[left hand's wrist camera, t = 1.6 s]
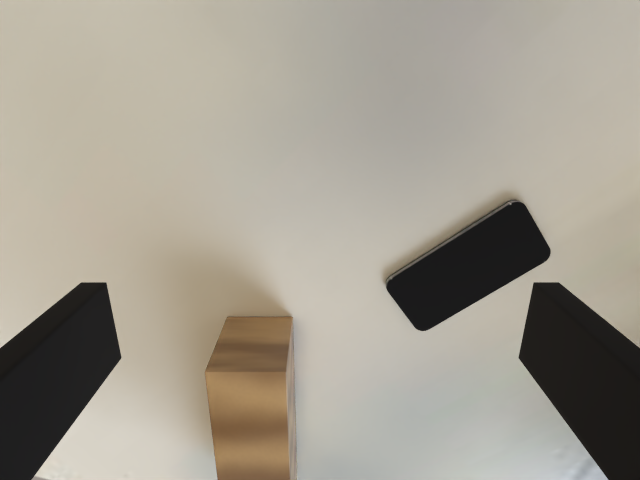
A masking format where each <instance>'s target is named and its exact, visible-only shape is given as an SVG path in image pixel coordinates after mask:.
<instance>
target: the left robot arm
mask: <svg viewBox="0 0 640 480" xmlns="http://www.w3.org/2000/svg"><path fill="white" fill-rule="evenodd" d="M120 359H121V354H120V349H119V344H118V339H117V334H116V329H115V324H114V319H113V314H112V309H111V304H110V299H109V294H108V289H107V284H106V283H80V284H79V285H78V286H76V287H75V288H74V289H73V290H72V291H70V292H69V293H68V294H67V295H65V296H64V297H63V298H62V299H60V300H59V301H58V302H57V303H55V304H54V305H53V306H52V307H51V308H49V309H48V310H47V311H46V312H44V313H43V314H42V315H41V316H39V317H38V318H37V319H36V320H35V321H33V322H32V323H31V324H30V325H28V326H27V327H26V328H25V329H23V330H22V331H21V332H20V333H19V334H17V335H16V336H15V337H14V338H12V339H11V340H10V341H9V342H7V343H6V344H5V345H4V346H2V347H1V348H0V480H31V479H32V478H33V477H34V475H35V474H36V473H37V471H38V470H39V469H40V467H41V466H42V465H43V463H44V462H45V461H46V459H47V458H48V456H49V455H50V454H51V452H52V451H53V450H54V448H55V447H56V446H57V444H58V443H59V442H60V440H61V439H62V438H63V436H64V435H65V433H66V432H67V431H68V429H69V428H70V427H71V425H72V424H73V423H74V421H75V420H76V419H77V417H78V416H79V415H80V413H81V412H82V410H83V409H84V408H85V406H86V405H87V404H88V402H89V401H90V400H91V398H92V397H93V396H94V394H95V393H96V392H97V390H98V389H99V387H100V386H101V385H102V383H103V382H104V381H105V379H106V378H107V377H108V375H109V374H110V373H111V371H112V370H113V368H114V367H115V366H116V364H117V363H118V362H119V360H120ZM519 359H520V360H521V362H522V363H523V364H524V366H525V367H526V368H527V370H528V371H529V373H530V374H531V375H532V377H533V378H534V379H535V381H536V382H537V383H538V385H539V386H540V387H541V389H542V390H543V392H544V393H545V394H546V396H547V397H548V398H549V400H550V401H551V402H552V404H553V405H554V406H555V408H556V409H557V410H558V412H559V413H560V415H561V416H562V417H563V419H564V420H565V421H566V423H567V424H568V425H569V427H570V428H571V429H572V431H573V432H574V433H575V435H576V436H577V438H578V439H579V440H580V442H581V443H582V444H583V446H584V447H585V448H586V450H587V451H588V452H589V454H590V455H591V456H592V458H593V459H594V461H595V462H596V463H597V465H598V466H599V467H600V469H601V470H602V471H603V473H604V474H605V475H606V477H607V478H608V479H609V480H640V348H639V347H638V346H636V345H635V344H634V343H633V342H631V341H630V340H629V339H628V338H626V337H625V336H624V335H623V334H621V333H620V332H619V331H618V330H617V329H615V328H614V327H613V326H612V325H610V324H609V323H608V322H607V321H605V320H604V319H603V318H602V317H601V316H599V315H598V314H597V313H596V312H594V311H593V310H592V309H591V308H589V307H588V306H587V305H586V304H585V303H583V302H582V301H581V300H580V299H578V298H577V297H576V296H575V295H573V294H572V293H571V292H570V291H568V290H567V289H566V288H565V287H564V286H562V285H561V284H560V283H534V284H533V289H532V294H531V299H530V304H529V309H528V314H527V319H526V324H525V329H524V334H523V339H522V344H521V349H520V354H519Z"/></svg>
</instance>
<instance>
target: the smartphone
mask: <svg viewBox="0 0 640 480" xmlns="http://www.w3.org/2000/svg"><path fill="white" fill-rule="evenodd" d="M549 256H550V248H549V246H548V244H547V242H546V241H545V239H544V237H543V235H542V234H541V232H540V230H539V228H538V227H537V225H536V223H535V221H534V220H533V218H532V216H531V215H530V213H529V211H528V209H527V208H526V206H525V205H524V204H523V203H521V202H520V201H510V202H508V203H506V204H505V205H503V206H501V207H500V208H498V209H497V210H495V211H493V212H492V213H490V214H489V215H487V216H485V217H484V218H482V219H481V220H479V221H477V222H476V223H474V224H473V225H471V226H470V227H468V228H466V229H465V230H463V231H462V232H460V233H458V234H457V235H455V236H454V237H452V238H450V239H449V240H447V241H446V242H444V243H443V244H441V245H439V246H438V247H436V248H435V249H433V250H431V251H430V252H428V253H427V254H425V255H423V256H422V257H420V258H419V259H417V260H415V261H414V262H412V263H411V264H409V265H408V266H406V267H404V268H403V269H401V270H400V271H398V272H396V273H395V274H393V275H392V276H390V277H389V278H388V279H387V281H386V288H387V291H388V292H389V293H390V295H391V296H392V297H393V299H394V300H395V301H396V303H397V304H398V305H399V307H400V308H401V309H402V311H403V312H404V313H405V315H406V316H407V317H408V319H409V320H410V321H411V323H412V324H413V326H414V327H415V328H416V329H418V330H420V331H426V330H429V329H430V328H432V327H434V326H436V325H437V324H439V323H441V322H442V321H444V320H446V319H448V318H449V317H451V316H453V315H454V314H456V313H458V312H460V311H461V310H463V309H465V308H466V307H468V306H470V305H472V304H473V303H475V302H477V301H478V300H480V299H482V298H484V297H485V296H487V295H489V294H490V293H492V292H494V291H496V290H497V289H499V288H501V287H502V286H504V285H506V284H508V283H509V282H511V281H513V280H514V279H516V278H518V277H520V276H521V275H523V274H525V273H526V272H528V271H530V270H532V269H533V268H535V267H537V266H538V265H540V264H542V263H544V262H545V261H546V260H547V259H548V258H549Z"/></svg>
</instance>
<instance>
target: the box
mask: <svg viewBox="0 0 640 480" xmlns="http://www.w3.org/2000/svg"><path fill="white" fill-rule="evenodd" d="M205 377H206V385H207V394H208V402H209V410H210V419H211V427H212V435H213V444H214V452H215V460H216V469H217V477H218V480H297V453H296V417H295V381H294V346H293V317H227V319H226V321H225V324H224V326H223V329H222V331H221V334H220V336H219V339H218V341H217V344H216V346H215V348H214V351H213V353H212V356H211V358H210V361H209V363H208V366H207V368H206V371H205Z"/></svg>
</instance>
